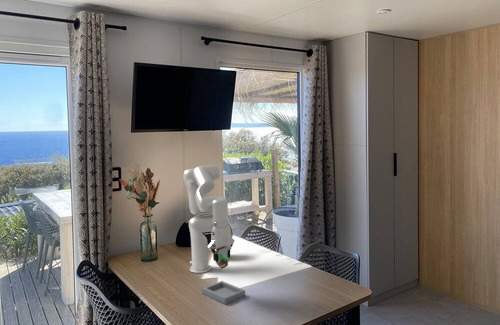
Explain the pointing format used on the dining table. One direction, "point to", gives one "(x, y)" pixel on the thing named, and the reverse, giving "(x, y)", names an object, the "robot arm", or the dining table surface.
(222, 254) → the food container
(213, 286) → the tray
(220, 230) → the robot arm
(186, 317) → the dining table surface
